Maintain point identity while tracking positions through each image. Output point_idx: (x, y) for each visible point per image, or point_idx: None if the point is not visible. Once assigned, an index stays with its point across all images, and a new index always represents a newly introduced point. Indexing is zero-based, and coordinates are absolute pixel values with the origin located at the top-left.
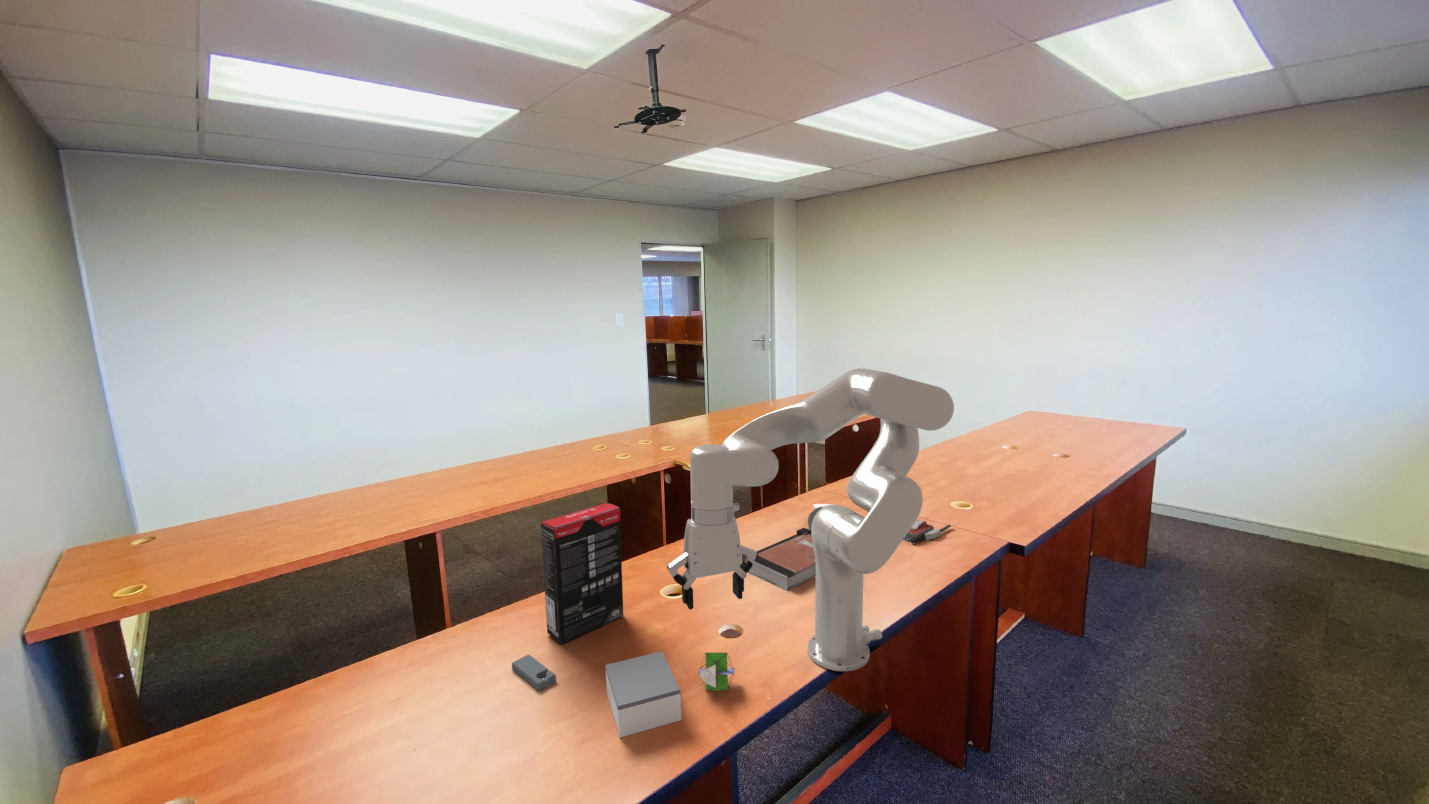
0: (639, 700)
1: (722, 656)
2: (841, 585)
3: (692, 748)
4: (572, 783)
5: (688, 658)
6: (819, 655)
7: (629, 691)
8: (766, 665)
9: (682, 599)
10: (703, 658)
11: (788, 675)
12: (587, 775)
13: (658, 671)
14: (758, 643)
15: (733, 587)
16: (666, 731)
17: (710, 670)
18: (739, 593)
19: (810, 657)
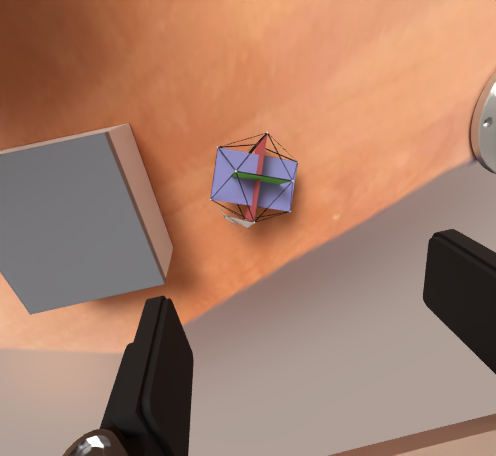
0: (76, 303)
1: (278, 179)
2: None
3: (190, 300)
4: (14, 337)
5: (194, 43)
6: (493, 129)
7: (44, 278)
8: (372, 119)
9: (129, 346)
10: (228, 161)
11: (399, 162)
12: (33, 328)
13: (106, 221)
14: (394, 14)
15: (453, 262)
16: None
17: (238, 221)
18: (448, 322)
19: (473, 117)
